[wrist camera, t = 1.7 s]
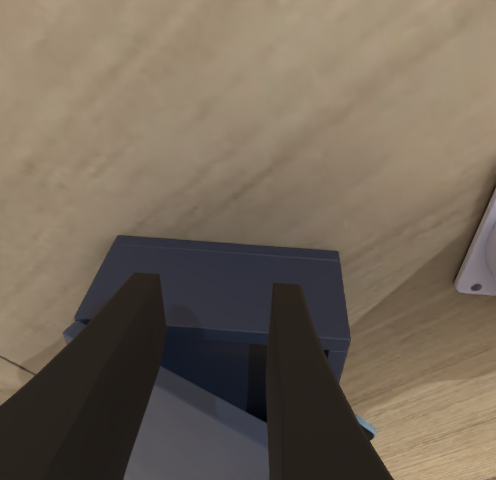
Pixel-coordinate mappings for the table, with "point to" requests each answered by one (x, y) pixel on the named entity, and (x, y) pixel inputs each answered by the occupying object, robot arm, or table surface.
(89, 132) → the table surface
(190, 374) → the box
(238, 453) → the lid
